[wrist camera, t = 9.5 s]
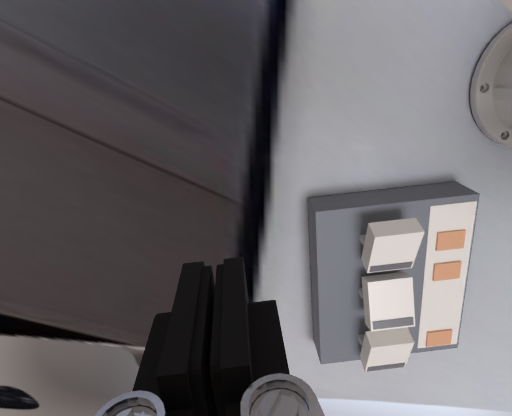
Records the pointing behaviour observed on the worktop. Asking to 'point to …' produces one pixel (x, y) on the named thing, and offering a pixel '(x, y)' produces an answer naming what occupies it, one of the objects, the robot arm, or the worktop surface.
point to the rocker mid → (388, 301)
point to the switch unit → (423, 271)
